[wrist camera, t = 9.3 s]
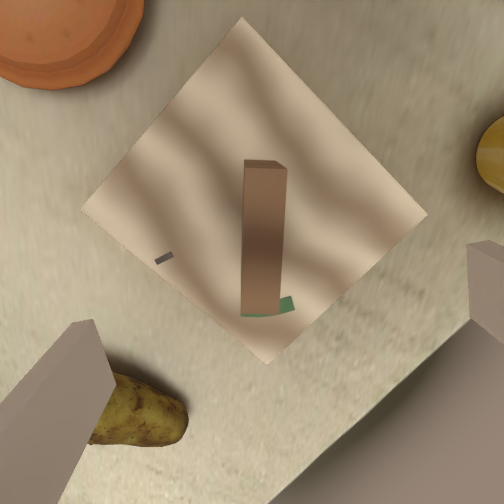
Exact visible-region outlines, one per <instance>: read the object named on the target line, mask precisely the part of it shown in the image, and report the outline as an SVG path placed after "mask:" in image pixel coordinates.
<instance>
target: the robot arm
mask: <svg viewBox="0 0 504 504" xmlns="http://www.w3.org/2000/svg"><path fill="white" fill-rule="evenodd" d="M466 248H467V269H468V289H469V309H470V317H471V318H472V319H473V320H474V321H476V322H477V323H478V324H480V326H482V327H483V328H484V329H485V330H487V331H488V332H489V333H490V334H492V335H493V336H494V337H495V338H497V340H499V341H500V342H501V343H503V344H504V246H501V245H499V244H497V243H495V242H492V241H490V240H486V241H481V242H476V243H471V244H466ZM115 387H116V382H115V379H114V376H113V374H112V371H111V368H110V365H109V362H108V359H107V357H106V354H105V351H104V348H103V345H102V343H101V340H100V337H99V334H98V331H97V329H96V326H95V323H94V320H93V319H90V320H85V321H80V322H75V323H72V324H71V325H70V326H69V327H68V328H67V329H66V330H65V332H64V333H63V334H62V335H61V336H60V337H59V338H58V339H57V341H56V342H55V343H54V344H53V345H52V346H51V347H50V348H49V350H48V351H47V352H46V353H45V354H44V355H43V356H42V357H41V359H40V360H39V361H38V362H37V363H36V364H35V365H34V366H33V368H32V369H31V370H30V371H29V372H28V373H27V374H26V375H25V377H24V378H23V379H22V380H21V381H20V382H19V383H18V384H17V386H16V387H15V388H14V389H13V390H12V391H11V392H10V393H9V395H8V396H7V397H6V398H5V399H4V400H3V401H2V402H1V404H0V504H57V503H58V501H59V499H60V497H61V495H62V493H63V491H64V489H65V487H66V485H67V483H68V481H69V479H70V477H71V475H72V473H73V471H74V469H75V467H76V465H77V463H78V461H79V459H80V457H81V455H82V453H83V451H84V449H85V447H86V445H87V443H88V441H89V439H90V437H91V435H92V433H93V431H94V429H95V427H96V425H97V423H98V421H99V419H100V417H101V415H102V413H103V411H104V409H105V407H106V405H107V403H108V401H109V399H110V397H111V395H112V393H113V391H114V389H115Z"/></svg>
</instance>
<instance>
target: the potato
mask: <svg viewBox="0 0 504 504" xmlns="http://www.w3.org/2000/svg"><path fill="white" fill-rule="evenodd" d="M112 374H113V376H114V379H115V382H116V387H115V389H114V391H113V393H112V395H111V397H110V399H109V401H108V403H107V405H106V407H105V409H104V411H103V413H102V415H101V417H100V419H99V421H98V423H97V425H96V427H95V429H94V431H93V433H92V435H91V437H90V439H89V441H88V443H87V444H90V445H92V444H100V445H113V444H125V445H133V446H139V447H163V446H167V445H171V444H174V443H176V442H178V441H179V440H180V439H181V438H182V437H183V435H184V433H185V431H186V429H187V426H188V420H189V418H188V414H187V411H186V409H185V408H184V406H183V405H182V404H181V403H180V401H178V400H177V399H176V398H173V397H171V396H165V395H164V394H163V393H162V392H161V391H159V390H156V389H154V388H153V387H151V386H149V385H147V384H145V383H143V382H141V381H139V380H137V379H134V378H132V377H129V376H125V375H121V374H118V373H114V372H112Z"/></svg>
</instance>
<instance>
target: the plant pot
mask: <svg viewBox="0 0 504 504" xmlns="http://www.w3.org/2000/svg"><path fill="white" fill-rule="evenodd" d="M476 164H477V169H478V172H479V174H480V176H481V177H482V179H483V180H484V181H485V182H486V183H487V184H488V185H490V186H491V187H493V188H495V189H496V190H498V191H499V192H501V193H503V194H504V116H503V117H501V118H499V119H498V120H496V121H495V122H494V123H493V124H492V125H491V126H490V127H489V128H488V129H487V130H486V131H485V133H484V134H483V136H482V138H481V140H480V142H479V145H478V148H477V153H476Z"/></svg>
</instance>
